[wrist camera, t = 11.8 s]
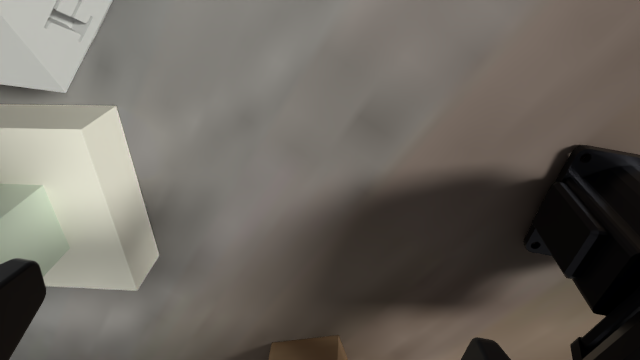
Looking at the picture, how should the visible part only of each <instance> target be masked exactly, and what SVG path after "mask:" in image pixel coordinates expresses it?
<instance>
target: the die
mask: <svg viewBox="0 0 640 360" xmlns="http://www.w3.org/2000/svg"><path fill="white" fill-rule="evenodd" d="M112 2H113V0H0V84H2V85H10V86H17V87H25V88H32V89H40V90H47V91H55V92H62V93H66V92H67V90H68V88H69V86H70V84H71V82H72V80H73V78H74V76H75V74H76V73H77V71H78V69H79V67H80V65H81V63H82V61H83V59H84V57H85V55H86V54H87V52H88V50H89V48H90V46H91V44H92V42H93V40H94V38H95V36H96V35H97V33H98V31H99V29H100V27H101V25H102V23H103V21H104V19H105V17H106V14H107V12H108V10H109V8H110V6H111V4H112Z"/></svg>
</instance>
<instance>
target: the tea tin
mask: <svg viewBox="0 0 640 360" xmlns="http://www.w3.org/2000/svg"><path fill="white" fill-rule="evenodd" d="M69 249H70V247H69V245H68V242H67V240H66V238H65V235H64V233H63V231H62V228H61V226H60V224H59V221H58V219H57V217H56V214H55V212H54V210H53V207H52V205H51V203H50V200H49V198H48V196H47V193H46V191H45V189H44V186H43V185H23V184H0V264H2V263H4V262H6V261H8V260H11V259H14V258H21V259H27V260H33V261H36V262H37V263H38V264H39V266H40V269H41V272H42V276H43V277H44V276H45V274H46V273H47V272H48V271H49V270H50V269H51V268H52V267H53V266H54V265H55V264H56V263H57V262H58V261H59V260H60V258H61V257H62V256H63V255H64V254H65V253H66V252H67V251H68V250H69Z"/></svg>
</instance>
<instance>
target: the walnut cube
mask: <svg viewBox="0 0 640 360" xmlns="http://www.w3.org/2000/svg"><path fill="white" fill-rule="evenodd" d="M268 360H348V359H347V356H346V354H345V351H344V348H343V346H342V343H341V340H340V337H339V335H335V336H326V337H318V338H309V339H300V340H291V341H283V342H274V343H272V344H271V349H270V354H269V359H268Z"/></svg>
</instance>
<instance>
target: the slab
mask: <svg viewBox="0 0 640 360" xmlns="http://www.w3.org/2000/svg"><path fill="white" fill-rule="evenodd" d="M0 184H23V185H43V186H44V189H45V191H46V193H47V196H48V198H49V200H50V203H51V205H52V207H53V210H54V212H55V214H56V217H57V219H58V221H59V224H60V226H61V228H62V231H63V233H64V235H65V238H66V240H67V242H68V245H69V247H70V249H69V250H68V251H67V252H66V253H65V254H64V255H63V256H62V257H61V258H60V260H59V261H58V262H57V263H56V264H55V265H54V266H53V267H52V268H51V269H50V270H49V271H48V272H47V273H46V274H45V276H44V277H43V279H44V283H45V286H53V287H72V288H92V289H112V290H132V291H137V290H138V289H139V287H140V286H141V284H142V283H143V281H144V279H145V278H146V276H147V275H148V273H149V271H150V270H151V268H152V267H153V265H154V263H155V262H156V260H157V259H158V257H159V252H158V249H157V245H156V242H155V238H154V235H153V232H152V228H151V225H150V221H149V218H148V214H147V211H146V207H145V204H144V200H143V197H142V194H141V190H140V187H139V183H138V180H137V176H136V173H135V169H134V166H133V162H132V159H131V156H130V152H129V149H128V145H127V142H126V138H125V135H124V131H123V128H122V125H121V121H120V118H119V114H118V111H117V107H116V106H97V105H22V104H0Z"/></svg>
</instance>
